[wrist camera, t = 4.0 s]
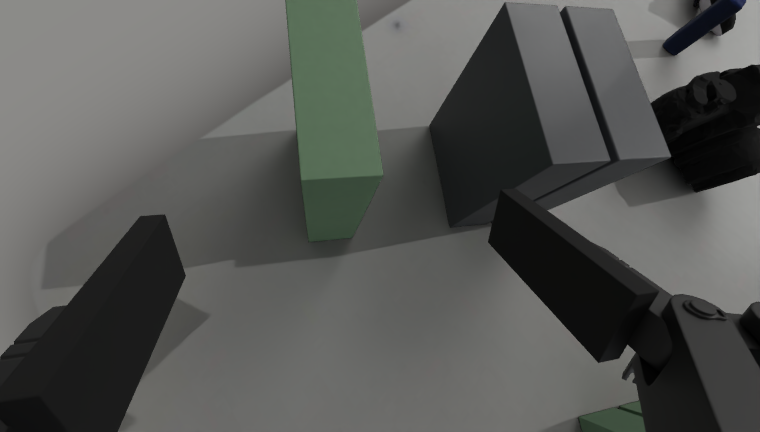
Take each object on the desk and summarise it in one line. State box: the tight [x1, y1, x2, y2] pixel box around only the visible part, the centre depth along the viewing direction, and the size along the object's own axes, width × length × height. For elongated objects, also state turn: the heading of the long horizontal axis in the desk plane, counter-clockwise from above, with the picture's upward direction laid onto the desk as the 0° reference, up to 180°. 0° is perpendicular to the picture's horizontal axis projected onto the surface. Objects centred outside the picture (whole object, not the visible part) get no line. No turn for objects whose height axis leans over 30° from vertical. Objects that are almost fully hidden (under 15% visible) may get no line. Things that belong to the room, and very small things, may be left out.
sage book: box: [285, 0, 383, 242], centre depth 21 cm, size 4×10×13 cm, turn 8°
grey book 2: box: [491, 6, 671, 223], centre depth 24 cm, size 4×10×13 cm, turn 8°
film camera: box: [650, 65, 760, 193], centre depth 31 cm, size 15×10×9 cm, turn 105°
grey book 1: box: [430, 2, 611, 227], centre depth 24 cm, size 4×10×13 cm, turn 8°
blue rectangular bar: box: [663, 0, 746, 55], centre depth 37 cm, size 2×2×7 cm
